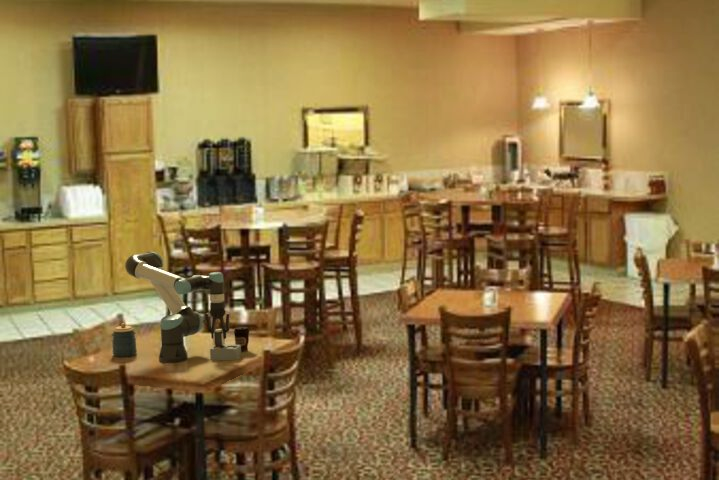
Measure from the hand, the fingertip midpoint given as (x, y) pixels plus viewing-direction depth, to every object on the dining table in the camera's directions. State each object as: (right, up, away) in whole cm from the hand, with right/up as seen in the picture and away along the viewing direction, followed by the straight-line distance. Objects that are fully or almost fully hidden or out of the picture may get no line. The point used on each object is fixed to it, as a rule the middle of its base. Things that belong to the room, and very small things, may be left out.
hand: (219, 344), depth 537 cm
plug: (0, -4, 0) cm, 4 cm away
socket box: (+4, -7, 0) cm, 8 cm away
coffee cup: (+11, -5, +15) cm, 19 cm away
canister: (-54, -7, +14) cm, 56 cm away
